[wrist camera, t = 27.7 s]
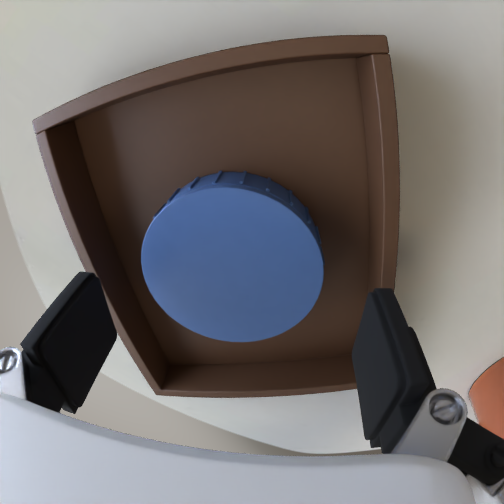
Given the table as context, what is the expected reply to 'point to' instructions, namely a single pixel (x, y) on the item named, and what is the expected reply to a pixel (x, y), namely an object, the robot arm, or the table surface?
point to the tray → (237, 160)
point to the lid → (234, 257)
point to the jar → (490, 399)
